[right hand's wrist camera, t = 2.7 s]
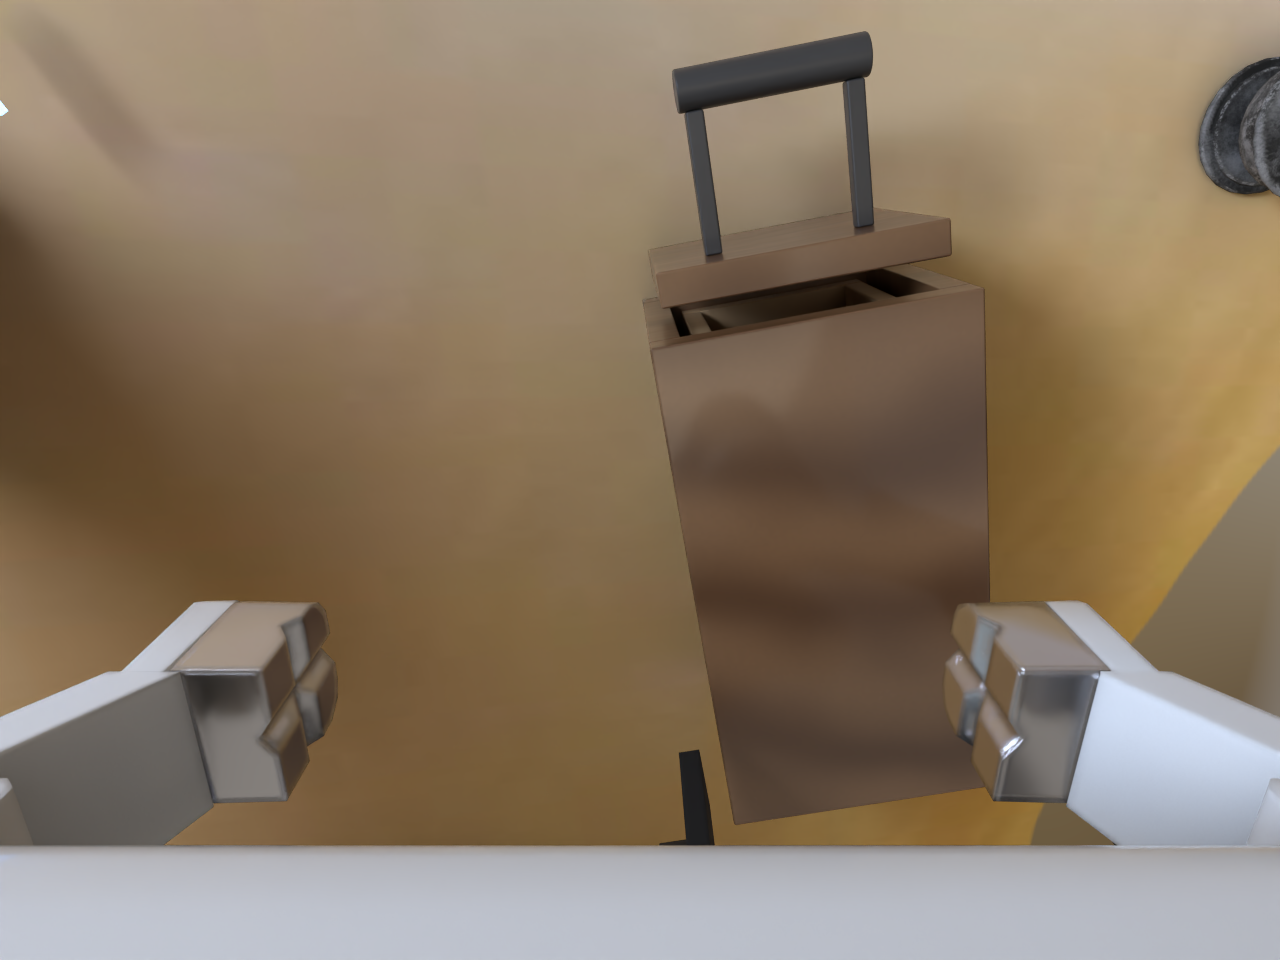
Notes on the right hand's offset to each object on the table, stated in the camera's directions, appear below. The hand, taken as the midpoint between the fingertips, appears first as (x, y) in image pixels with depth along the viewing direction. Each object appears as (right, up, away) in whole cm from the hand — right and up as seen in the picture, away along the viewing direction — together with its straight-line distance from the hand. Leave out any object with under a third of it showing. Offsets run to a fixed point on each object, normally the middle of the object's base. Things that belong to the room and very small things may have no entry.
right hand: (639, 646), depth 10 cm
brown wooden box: (+7, +2, +29) cm, 29 cm away
